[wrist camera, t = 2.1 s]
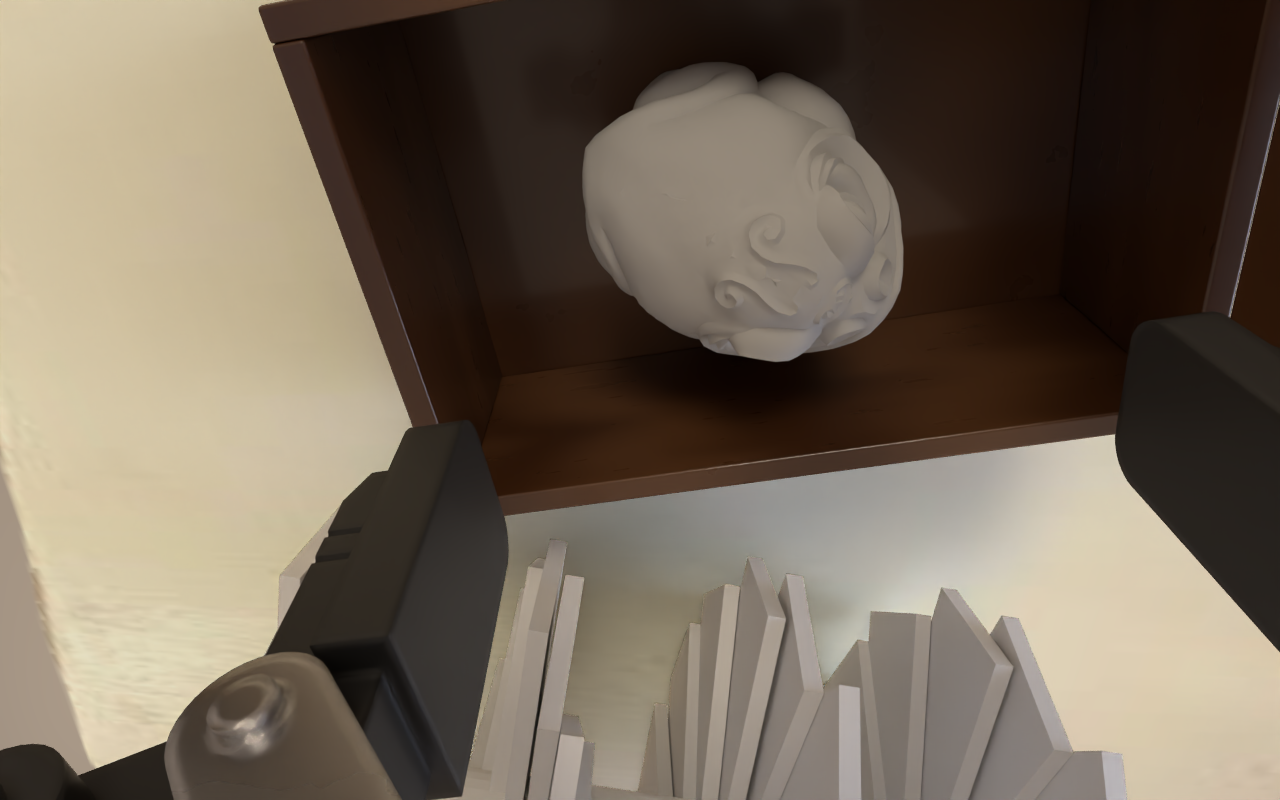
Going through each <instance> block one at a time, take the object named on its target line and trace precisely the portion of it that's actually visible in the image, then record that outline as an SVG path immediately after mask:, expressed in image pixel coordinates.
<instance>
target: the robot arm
mask: <svg viewBox="0 0 1280 800" xmlns="http://www.w3.org/2000/svg"><path fill="white" fill-rule="evenodd" d="M1115 445H1116V453H1117V457H1118V461H1119V464H1120V467H1121V470H1122V472H1123V474H1124V476H1125V478H1126V479H1127V481H1128V482H1129V484H1130V485H1131V486H1132V487H1133V488H1134V489H1135V491H1136V492H1137V493H1138V494H1139V495H1140V496H1141V497H1142V498H1143V500H1144V501H1145V502H1146V503H1147V504H1148V505H1149V506H1150V507H1151V509H1152V510H1153V511H1154V512H1155V513H1156V514H1157V515H1158V516H1159V517H1160V519H1161V520H1162V521H1163V522H1164V523H1165V524H1166V525H1167V526H1168V528H1169V529H1170V530H1171V531H1172V532H1173V533H1174V534H1175V535H1176V537H1177V538H1178V539H1179V540H1180V541H1181V542H1182V543H1183V544H1184V545H1185V547H1186V548H1187V549H1188V550H1189V551H1190V552H1191V553H1192V554H1193V556H1194V557H1195V558H1196V559H1197V560H1198V561H1199V562H1200V563H1201V565H1202V566H1203V567H1204V568H1205V569H1206V570H1207V571H1208V572H1209V573H1210V575H1211V576H1212V577H1213V578H1214V579H1215V580H1216V581H1217V582H1218V584H1219V585H1220V586H1221V587H1222V588H1223V589H1224V590H1225V591H1226V593H1227V594H1228V595H1229V596H1230V597H1231V598H1232V599H1233V600H1234V601H1235V603H1236V604H1237V605H1238V606H1239V607H1240V608H1241V609H1242V610H1243V612H1244V613H1245V614H1246V615H1247V616H1248V617H1249V618H1250V619H1251V620H1252V622H1253V623H1254V624H1255V625H1256V626H1257V627H1258V628H1259V629H1260V631H1261V632H1262V633H1263V634H1264V635H1265V636H1266V637H1267V638H1268V640H1269V641H1270V642H1271V643H1272V644H1273V645H1274V646H1275V647H1276V648H1277V650H1278V651H1279V652H1280V348H1278V347H1276V346H1273V345H1271V344H1269V343H1268V342H1266V341H1265V340H1263V339H1261V338H1260V337H1258V336H1257V335H1255V334H1254V333H1252V332H1251V331H1249V330H1248V329H1246V328H1245V327H1243V326H1242V325H1240V324H1239V323H1237V322H1235V321H1234V320H1232V319H1231V318H1229V317H1228V316H1226V315H1224V314H1222V313H1220V312H1216V311H1213V312H1204V313H1197V314H1190V315H1184V316H1177V317H1170V318H1163V319H1157V320H1150V321H1145V322H1143V323H1141V324H1140V325H1139V326H1138V327H1137V328H1136V329H1135V331H1134V333H1133V335H1132V338H1131V341H1130V346H1129V352H1128V358H1127V365H1126V371H1125V377H1124V383H1123V389H1122V395H1121V402H1120V408H1119V414H1118V420H1117V426H1116V434H1115ZM508 551H509V550H508V535H507V528H506V523H505V518H504V515H503V511H502V508H501V505H500V502H499V499H498V496H497V493H496V490H495V486H494V483H493V480H492V477H491V474H490V471H489V468H488V465H487V461H486V458H485V455H484V452H483V449H482V446H481V443H480V440H479V437H478V434H477V431H476V429H475V427H474V426H473V424H472V423H471V422H470V421H469V420H461V421H454V422H447V423H440V424H434V425H427V426H420V427H413V428H409V429H408V430H407V431H406V432H405V434H404V436H403V438H402V441H401V443H400V445H399V447H398V449H397V452H396V454H395V456H394V458H393V461H392V463H391V465H390V467H389V469H388V471H382V472H375V473H372V474H370V475H369V476H368V477H367V478H366V479H365V480H364V481H363V482H362V483H361V484H360V485H359V486H358V487H357V488H356V489H355V490H354V491H353V492H352V493H351V494H350V495H349V496H348V497H347V498H346V499H345V500H344V501H343V502H342V504H341V506H340V508H339V510H338V512H337V514H336V516H335V518H334V520H333V522H332V524H331V526H330V528H329V530H328V537H325V538H324V540H323V542H322V543H321V545H320V547H319V549H318V551H317V553H316V555H315V563H312V564H311V565H310V567H309V569H308V571H307V573H306V575H305V577H304V579H303V581H302V583H301V585H300V587H299V589H298V591H297V593H296V595H295V597H294V599H293V601H292V603H291V605H290V607H289V609H288V611H287V613H286V615H285V617H284V619H283V621H282V623H281V625H280V627H279V629H278V631H277V632H276V634H275V636H274V638H273V640H272V642H271V644H270V646H269V648H268V650H267V652H266V654H265V656H263V657H259V658H257V659H254V660H251V661H249V662H246V663H244V664H242V665H240V666H238V667H236V668H234V669H232V670H231V671H229V672H228V673H226V674H224V675H223V676H221V677H220V678H218V679H217V680H216V681H214V682H213V683H212V684H210V685H209V686H208V687H206V688H205V689H204V690H203V691H202V692H201V693H200V694H199V695H198V696H197V697H195V698H194V700H193V701H192V702H191V703H190V704H189V705H188V706H187V707H186V709H185V710H184V711H183V713H182V714H181V715H180V717H179V718H178V720H177V721H176V723H175V725H174V726H173V728H172V730H171V732H170V734H169V737H168V740H167V742H164V743H162V744H159V745H157V746H154V747H151V748H149V749H146V750H144V751H141V752H138V753H136V754H133V755H130V756H128V757H125V758H123V759H120V760H117V761H115V762H112V763H110V764H107V765H104V766H102V767H99V768H97V769H94V770H91V771H89V772H86V773H84V774H81V775H77V774H76V772H75V771H74V770H73V769H72V768H71V767H70V766H69V764H68V763H67V762H66V761H65V759H64V758H63V757H62V756H61V755H60V754H59V753H58V752H57V751H56V750H55V749H53V748H51V747H48V746H46V745H39V744H28V745H19V746H15V747H11V748H7V749H4V750H1V751H0V800H436V799H445V798H454V797H462V794H463V789H464V784H465V779H466V774H467V769H468V764H469V759H470V754H471V749H472V744H473V738H474V733H475V728H476V723H477V718H478V713H479V708H480V703H481V698H482V693H483V688H484V682H485V677H486V672H487V667H488V662H489V657H490V652H491V647H492V642H493V637H494V632H495V627H496V621H497V616H498V611H499V606H500V601H501V596H502V591H503V586H504V581H505V576H506V571H507V565H508Z"/></svg>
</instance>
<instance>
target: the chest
mask: <svg viewBox="0 0 1280 800" xmlns="http://www.w3.org/2000/svg"><path fill="white" fill-rule="evenodd" d="M259 13H260V16H261V18H262V21H263V24H264V26H265V29H266V32H267V34H268V37H269V40H270V41H271V43H274V44H275V45H273V51H274V53H275V56H276V59H277V61H278V64H279V67H280V70H281V72H282V75H283V78H284V80H285V83H286V86H287V88H288V91H289V94H290V97H291V99H292V102H293V105H294V107H295V110H296V113H297V115H298V118H299V121H300V124H301V126H302V129H303V132H304V134H305V137H306V140H307V142H308V145H309V148H310V150H311V153H312V156H313V159H314V161H315V164H316V167H317V169H318V172H319V175H320V177H321V180H322V183H323V186H324V188H325V191H326V194H327V196H328V199H329V202H330V204H331V207H332V210H333V213H334V215H335V218H336V221H337V223H338V226H339V229H340V231H341V234H342V237H343V240H344V242H345V245H346V248H347V250H348V253H349V256H350V258H351V261H352V264H353V266H354V269H355V272H356V275H357V277H358V280H359V283H360V285H361V288H362V291H363V293H364V296H365V299H366V302H367V304H368V307H369V310H370V312H371V315H372V318H373V320H374V323H375V326H376V329H377V331H378V334H379V337H380V339H381V342H382V345H383V347H384V350H385V353H386V355H387V358H388V361H389V364H390V366H391V369H392V372H393V374H394V377H395V380H396V382H397V385H398V388H399V391H400V393H401V396H402V399H403V401H404V404H405V407H406V409H407V412H408V415H409V418H410V420H411V423H412V426H413V427H420V426H427V425H434V424H440V423H447V422H454V421H461V420H469V421H470V422H471V423H472V424H473V426H474V427H475V429H476V431H477V434H478V437H479V440H480V443H481V446H482V449H483V452H484V455H485V458H486V461H487V465H488V468H489V471H490V474H491V477H492V480H493V483H494V486H495V490H496V493H497V496H498V499H499V502H500V505H501V508H502V511H503V515H504V516H507V515H515V514H522V513H529V512H537V511H544V510H552V509H559V508H567V507H574V506H582V505H589V504H597V503H604V502H612V501H619V500H627V499H634V498H642V497H649V496H657V495H664V494H671V493H679V492H686V491H694V490H701V489H709V488H716V487H724V486H731V485H739V484H746V483H754V482H761V481H769V480H776V479H784V478H791V477H799V476H806V475H813V474H821V473H828V472H836V471H843V470H851V469H858V468H866V467H873V466H881V465H888V464H896V463H903V462H911V461H918V460H926V459H933V458H940V457H948V456H955V455H963V454H970V453H978V452H985V451H993V450H1000V449H1008V448H1015V447H1023V446H1030V445H1038V444H1045V443H1053V442H1060V441H1068V440H1075V439H1082V438H1090V437H1097V436H1105V435H1112V434H1116V426H1117V420H1118V414H1119V408H1120V402H1121V395H1122V389H1123V383H1124V377H1125V371H1126V365H1127V358H1128V352H1129V346H1130V341H1131V338H1132V335H1133V333H1134V331H1135V329H1136V328H1137V327H1138V326H1139V325H1140V324H1141V323H1143V322H1145V321H1150V320H1157V319H1163V318H1170V317H1177V316H1184V315H1190V314H1197V313H1204V312H1213V311H1216V312H1220V313H1222V314H1224V315H1226V316H1228V317H1229V318H1230V314H1231V310H1232V306H1233V301H1234V297H1235V293H1236V288H1237V284H1238V280H1239V275H1240V271H1241V267H1242V262H1243V258H1244V254H1245V249H1246V245H1247V241H1248V236H1249V232H1250V228H1251V223H1252V219H1253V215H1254V210H1255V206H1256V202H1257V197H1258V193H1259V189H1260V184H1261V180H1262V176H1263V171H1264V167H1265V163H1266V158H1267V154H1268V150H1269V145H1270V141H1271V136H1272V132H1273V128H1274V123H1275V119H1276V115H1277V110H1278V106H1279V102H1280V0H284V1H279V2H274V3H270V4H265V5H261V6H260V7H259ZM704 62H727V63H732V64H737V65H742V66H745V67H747V68H748V69H749V70H751V71H752V72H753V73H754V75H755V77H756V80H757V82H759V81H761V80H763V79H765V78H766V77H768V76H770V75H772V74H774V73H780V72H784V73H789V74H793V75H794V76H796V77H798V78H800V79H803V80H805V81H807V82H809V83H812V84H814V85H815V86H817V87H819V88H821V89H822V90H823V91H825V92H826V93H827V94H828V95H829V96H830V97H832V98H833V99H834V100H835V101H836V102H837V103H839V104H840V105H841V107H842V108H843V110H844V111H845V113H846V114H847V116H848V118H849V120H850V122H851V125H852V127H853V130H854V132H855V137H856V141H857V142H858V143H859V144H860V145H861V146H862V147H863V148H864V149H865V151H866V152H867V153H868V154H869V155H870V156H871V158H872V159H873V160H874V161H875V162H876V163H877V164H878V165H879V167H880V168H881V170H882V171H883V173H884V175H885V176H886V178H887V179H888V181H889V183H890V184H891V186H892V188H893V190H894V193H895V196H896V199H897V203H898V206H899V212H900V218H901V233H902V241H903V277H902V283H901V289H900V292H899V294H898V296H897V299H896V301H895V303H894V305H893V307H892V309H891V310H890V312H889V313H888V315H887V316H886V317H885V319H884V320H883V321H882V322H881V323H880V324H879V325H878V326H877V327H876V328H875V329H874V330H873V331H872V332H871V333H870V334H869V335H867V336H865V337H863V338H861V339H859V340H857V341H855V342H853V343H850V344H846V345H843V346H840V347H837V348H834V349H829V350H823V351H817V352H809V353H802V354H801V355H800V356H798V357H796V358H794V359H792V360H790V361H780V362H773V361H767V360H760V359H754V358H749V357H744V356H738V355H730V354H722V353H717V352H714V351H712V350H710V349H708V348H706V347H704V346H703V344H702V343H701V341H700V339H695V338H691V337H688V336H686V335H683V334H681V333H678V332H676V331H674V330H672V329H671V328H669V327H668V326H666V325H665V324H664V323H662V322H660V321H659V320H657V319H656V318H655V317H653V316H652V315H650V314H649V313H648V312H647V311H646V310H645V309H644V308H643V307H642V306H641V305H639V303H638V301H637V299H636V298H635V297H634V296H631V295H629V294H627V293H625V292H624V291H623V290H621V289H620V288H619V287H618V285H617V284H616V282H615V281H614V279H613V277H612V276H611V275H610V274H609V273H608V272H607V271H606V270H605V269H604V268H603V267H602V265H601V264H600V263H599V261H598V260H597V258H596V256H595V254H594V252H593V250H592V248H591V246H590V244H589V239H588V234H587V229H586V217H585V212H586V209H585V204H584V199H583V188H582V171H583V161H584V153H585V147H586V146H587V145H588V144H589V143H590V141H591V140H592V139H593V138H594V136H595V135H596V134H598V133H599V132H600V131H602V130H603V129H604V128H606V127H607V126H608V125H610V124H611V123H612V122H614V121H615V120H616V119H617V118H619V117H620V116H622V115H624V114H626V113H628V112H630V111H632V110H633V108H634V104H635V102H636V99H637V98H638V96H639V95H640V93H641V92H642V91H643V90H644V89H645V88H646V87H647V86H648V85H649V84H650V83H651V82H652V81H653V80H654V79H656V78H657V77H658V76H659V75H661V74H663V73H664V72H667V71H671V70H676V69H682V68H684V67H686V66H689V65H693V64H698V63H704Z"/></svg>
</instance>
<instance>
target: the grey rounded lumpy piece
mask: <svg viewBox="0 0 1280 800" xmlns="http://www.w3.org/2000/svg"><path fill="white" fill-rule="evenodd" d="M582 188H583V199H584V204H585V209H586V212H585V217H586V229H587V234H588V239H589V244H590V246H591V248H592V250H593V252H594V254H595V256H596V258H597V260H598V261H599V263H600V264H601V265H602V267H603V268H604V269H605V270H606V271H607V272H608V273H609V274H610V275H611V276H612V277H613V279H614V281H615V282H616V284H617V285H618V287H619V288H620V289H621V290H623V291H624V292H625V293H627V294H629V295H631V296H634V297H635V298H636V299H637V301H638V303H639V305H641V306H642V307H643V308H644V309H645V310H646V311H647V312H648V313H649V314H650V315H652V316H653V317H655V318H656V319H657V320H659V321H660V322H662V323H664V324H665V325H666V326H668V327H669V328H671V329H672V330H674V331H676V332H678V333H681V334H683V335H686V336H688V337H691V338H695V339H700V341H701V343H702V344H703V346H704V347H706V348H708V349H710V350H712V351H714V352H717V353H722V354H730V355H738V356H744V357H749V358H754V359H760V360H767V361H773V362H780V361H790V360H792V359H794V358H796V357H798V356H800V355H801V354H802V353H809V352H817V351H823V350H829V349H834V348H837V347H840V346H843V345H846V344H850V343H853V342H855V341H857V340H859V339H861V338H863V337H865V336H867V335H869V334H870V333H871V332H872V331H873V330H874V329H875V328H876V327H877V326H878V325H879V324H880V323H881V322H882V321H883V320H884V319H885V317H886V316H887V315H888V313H889V312H890V310H891V309H892V307H893V305H894V303H895V301H896V299H897V296H898V294H899V292H900V289H901V283H902V277H903V241H902V233H901V218H900V212H899V206H898V203H897V199H896V196H895V193H894V190H893V188H892V186H891V184H890V183H889V181H888V179H887V178H886V176H885V175H884V173H883V171H882V170H881V168H880V167H879V165H878V164H877V163H876V162H875V161H874V160H873V159H872V158H871V156H870V155H869V154H868V153H867V152H866V151H865V149H864V148H863V147H862V146H861V145H860V144H859V143H858V142H857V141H856V137H855V132H854V130H853V127H852V125H851V122H850V120H849V118H848V116H847V114H846V113H845V111H844V110H843V108H842V107H841V105H840V104H839V103H837V102H836V101H835V100H834V99H833V98H832V97H830V96H829V95H828V94H827V93H826V92H825V91H823V90H822V89H821V88H819V87H817V86H815V85H814V84H812V83H809V82H807V81H805V80H803V79H800V78H798V77H796V76H794V75H793V74H789V73H784V72H780V73H774V74H772V75H770V76H768V77H766V78H765V79H763V80H761V81H759V82H757V80H756V77H755V75H754V73H753V72H752V71H751V70H749V69H748V68H747V67H745V66H742V65H737V64H732V63H727V62H704V63H698V64H693V65H689V66H686V67H684V68H682V69H676V70H671V71H667V72H664V73H663V74H661V75H659V76H658V77H657V78H656V79H654V80H653V81H652V82H651V83H650V84H649V85H648V86H647V87H646V88H645V89H644V90H643V91H642V92H641V93H640V95H639V96H638V98H637V99H636V102H635V104H634V108H633V110H632V111H630V112H628V113H626V114H624V115H622V116H620V117H619V118H617V119H616V120H615V121H614V122H612V123H611V124H610V125H608V126H607V127H606V128H604V129H603V130H602V131H600V132H599V133H598V134H596V135H595V136H594V138H593V139H592V140H591V141H590V143H589V144H588V145H587V146H586V147H585V153H584V161H583V171H582Z"/></svg>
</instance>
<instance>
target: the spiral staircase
mask: <svg viewBox="0 0 1280 800" xmlns="http://www.w3.org/2000/svg"><path fill="white" fill-rule="evenodd" d="M340 506H341V505H340ZM339 508H340V507H339ZM339 508H338V509H337V510H336V511H335V512H334V513H333V515H332V516H331V517H330V518H329V519H328V520H327V521H326V523H325V524H324V525H323V526H322V527H321V528H320V530H319V531H318V532H317V533H316V534H315V535H314V536H313V538H312V539H311V540H310V541H309V542H308V543H307V544H306V546H305V547H304V548H303V549H302V550H301V551H300V552H299V554H298V555H297V556H296V557H295V558H294V559H293V561H292V562H291V563H290V564H289V565H288V566H287V567H286V569H285V570H284V571H283V572H282V573H281V574H280V579H279V605H278V629H279V627H280V625H281V623H282V621H283V619H284V617H285V615H286V613H287V611H288V609H289V607H290V605H291V603H292V601H293V599H294V597H295V595H296V593H297V591H298V589H299V587H300V585H301V583H302V581H303V579H304V577H305V575H306V573H307V571H308V569H309V567H310V565H311V564H312V563H315V555H316V553H317V551H318V549H319V547H320V545H321V543H322V542H323V540H324V538H325V537H328V530H329V528H330V526H331V524H332V522H333V520H334V518H335V516H336V514H337V512H338V510H339ZM566 547H567V542H566V541H560V540H553V539H550V543H549V547H548V551H547V555H546V559H542V558H537V559H536V560H535V561H534V562H533V563H531V564H530V565H529V566H528V571H527V577H526V582H525V588H520V593H519V598H518V602H517V607H516V612H515V616H514V621H513V626H512V630H511V635H510V640H509V644H508V649H507V654H506V658H505V659H502V658H499V661H498V664H497V668H496V671H495V675H494V678H493V682H492V685H491V689H490V692H489V696H488V700H487V703H486V707H485V710H484V714H483V717H482V721H481V724H480V728H479V731H478V735H477V738H476V742H475V746H474V749H473V753H472V756H471V760H469V764H468V769H467V774H466V779H465V784H464V789H463V794H462V797H454V798H445V799H436V800H1127V793H1126V784H1125V775H1124V766H1123V758H1122V754H1120V753H1113V752H1106V751H1075V752H1073V750H1072V747H1071V745H1070V742H1069V740H1068V737H1067V735H1066V732H1065V730H1064V728H1063V725H1062V723H1061V720H1060V718H1059V715H1058V713H1057V711H1056V708H1055V706H1054V703H1053V701H1052V698H1051V696H1050V693H1049V691H1048V689H1047V686H1046V684H1045V681H1044V679H1043V676H1042V674H1041V672H1040V669H1039V667H1038V664H1037V662H1036V659H1035V657H1034V654H1033V652H1032V650H1031V647H1030V645H1029V642H1028V640H1027V637H1026V635H1025V633H1024V630H1023V628H1022V625H1021V623H1020V620H1019V618H1013V617H1007V616H1001V618H1000V619H999V621H998V623H997V624H996V626H995V627H994V629H993V630H992V632H991V634H989V633H988V632H987V630H986V629H985V628H984V626H983V625H982V624H981V622H980V621H979V619H978V618H977V617H976V615H975V614H974V613H973V611H972V610H971V609H970V607H969V606H968V605H967V603H966V602H965V600H964V599H963V598H962V596H961V595H960V594H959V592H958V591H957V590H954V589H948V588H941V591H940V594H939V597H938V601H937V604H936V607H935V610H934V614H933V617H932V620H931V616H927V615H921V614H911V613H894V612H876V611H871V615H870V628H869V641H862V640H857V641H856V643H855V644H854V645H853V647H852V648H851V650H850V651H849V652H848V654H847V655H846V657H845V658H844V659H843V661H842V662H841V664H840V665H839V666H838V668H837V669H836V671H835V672H834V673H833V675H832V676H831V678H830V679H829V680H828V682H827V683H826V685H825V686H824V687H823V684H822V679H821V673H820V668H819V662H818V657H817V651H816V646H815V640H814V635H813V629H812V624H811V618H810V612H809V607H808V601H807V596H806V590H805V585H804V579H803V576H799V575H793V574H787V573H786V575H785V578H784V581H783V584H782V587H781V590H780V593H779V596H778V597H777V594H776V592H775V589H774V587H773V584H772V581H771V579H770V576H769V574H768V571H767V569H766V566H765V564H764V561H763V559H762V558H756V557H749V556H747V561H746V566H745V570H744V575H743V580H742V585H741V589H740V586H735V585H729V584H724V585H722V586H720V587H718V588H716V589H713V590H711V591H709V592H707V593H705V594H704V599H703V608H702V616H701V624H696V623H689V626H688V629H687V632H686V635H685V638H684V641H683V644H682V647H681V650H680V653H679V656H678V659H677V662H676V665H675V667H674V670H673V673H672V676H671V679H670V696H669V714H668V713H667V705H665V704H659V703H654V708H653V714H652V719H651V724H650V729H649V734H648V740H647V745H646V750H645V755H644V761H643V766H642V771H641V776H640V781H639V787H638V792H637V791H630V790H623V789H616V788H609V787H603V786H596V785H592V774H593V762H594V750H595V743H592V742H585V741H584V734H583V731H582V727H581V724H580V720H579V717H578V716H575V715H569V714H563V709H564V703H565V697H566V690H567V684H568V678H569V672H570V665H571V659H572V653H573V647H574V641H575V634H576V628H577V622H578V616H579V609H580V603H581V597H582V591H583V584H584V577H577V576H571V575H565V581H564V586H563V591H562V597H561V602H560V608H559V613H558V619H557V624H556V630H555V635H554V641H553V646H552V651H551V657H550V650H551V644H552V638H553V631H554V625H555V618H556V612H557V605H558V599H559V592H560V586H561V580H562V573H563V567H564V560H565V554H566ZM739 590H740V594H739ZM277 631H278V630H277ZM272 640H273V639H272ZM271 642H272V641H271ZM270 644H271V643H270ZM269 646H270V645H269ZM268 648H269V647H268ZM267 650H268V649H267ZM266 652H267V651H266ZM265 654H266V653H265ZM264 656H265V655H264ZM549 657H550V662H549ZM548 663H549V668H548ZM547 670H548V673H547ZM546 676H547V679H546ZM545 683H546V684H545ZM823 688H824V690H823ZM544 689H545V690H544ZM532 764H533V765H532ZM531 769H532V772H531ZM530 775H531V776H530Z"/></svg>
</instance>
